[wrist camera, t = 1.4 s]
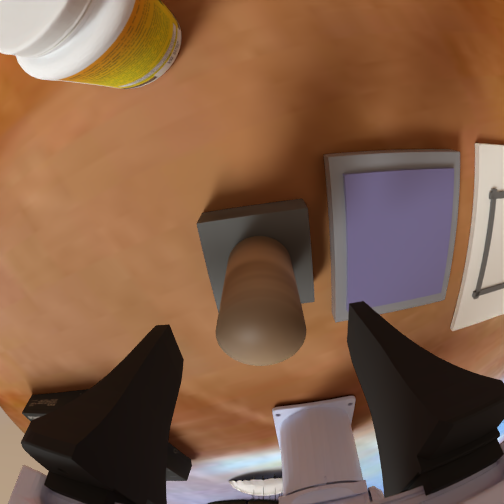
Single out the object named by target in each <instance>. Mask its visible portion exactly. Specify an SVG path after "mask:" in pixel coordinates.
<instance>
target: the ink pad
mask: <svg viewBox="0 0 504 504" xmlns="http://www.w3.org/2000/svg"><path fill="white" fill-rule="evenodd" d="M323 155H324V165H325V175H326V187H327V199H328V214H329V230H330V251H331V283H332V314H333V317H334V320H335V322H340V321H346V320H348V315H349V303H355V302H361V301H364V302H365V303H366V304H368V305H369V306H370V307H371V308H372V309H373V310H374V311H376V312H377V313H378V314H384V313H389V312H393V311H398V310H403V309H407V308H412V307H416V306H421V305H425V304H429V303H434V302H438V301H442V300H445V296H446V291H447V286H448V281H449V276H450V270H451V264H452V258H453V251H454V244H455V236H456V227H457V217H458V205H459V187H460V152H458V151H455V150H451V149H405V150H379V151H361V152H347V153H334V154H323Z"/></svg>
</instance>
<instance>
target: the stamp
mask: <svg viewBox="0 0 504 504" xmlns="http://www.w3.org/2000/svg"><path fill="white" fill-rule="evenodd" d="M197 228H198V232H199V237H200V241H201V245H202V249H203V253H204V258H205V262H206V266H207V270H208V274H209V278H210V282H211V286H212V290H213V294H214V297H215V301H216V305H217V309H218V313H219V315H218V320H217V326H216V338H217V341H218V344H219V345H220V347H221V348H222V350H223V351H224V352H225V353H226V354H227V355H228V356H230V357H231V358H233V359H235V360H237V361H239V362H241V363H244V364H249V365H255V366H265V365H272V364H276V363H279V362H282V361H284V360H286V359H288V358H290V357H291V356H293V355H294V354H295V353H296V352H297V351H298V350H299V349H300V348H301V346H302V344H303V343H304V340H305V337H306V325H305V320H304V316H303V311H302V306H301V304H302V303H309V302H314V283H313V267H312V253H311V240H310V228H309V216H308V208H307V206H306V204H305V202H304V201H303V199H295V200H287V201H279V202H272V203H265V204H258V205H251V206H244V207H237V208H230V209H224V210H217V211H211V212H205V213H202V214H201V216H200V218H199V220H198V222H197Z"/></svg>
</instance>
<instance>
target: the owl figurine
mask: <svg viewBox="0 0 504 504" xmlns="http://www.w3.org/2000/svg"><path fill="white" fill-rule="evenodd" d="M245 503H246V501H245V500H229V501H218V502H212V503H208V504H245ZM248 504H253V500H249V502H248ZM254 504H263V500H255V501H254ZM264 504H279V502H277V501H276V503H275V501H273V500H264Z"/></svg>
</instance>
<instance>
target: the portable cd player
mask: <svg viewBox="0 0 504 504" xmlns="http://www.w3.org/2000/svg"><path fill="white" fill-rule="evenodd" d="M88 390H89V389H86V390H78V391H69V392H60V393H49V394H37V395H32V396H31V398H30V399H29V401H28V403H27V405H26V407H25V408H24V410H23V412H22V414H23V415H24V416H26V417H27V418H28V419H29V420H30V421H32V420H33V419H36V418H39V417H41V416H43V415H46V414H48V413H50V412H53V411H55V410H57V409H59V408H60V407H62V406H64V405H66V404H68V403H69V402H71V401H73V400H75V399H76V398H77V397H79V396H80V395H82V394H83V393H85V392H86V391H88ZM191 467H192V464H191V459H189V458H188V457H187V456H185V455H184V454H183V453H181V452H180V451H179V450H177V449H176V448H175V447H174V446H172V445H171V444H170V443H169V442H168V449H167V463H166V481H187V479H188V476H189V473H190V470H191Z"/></svg>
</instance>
